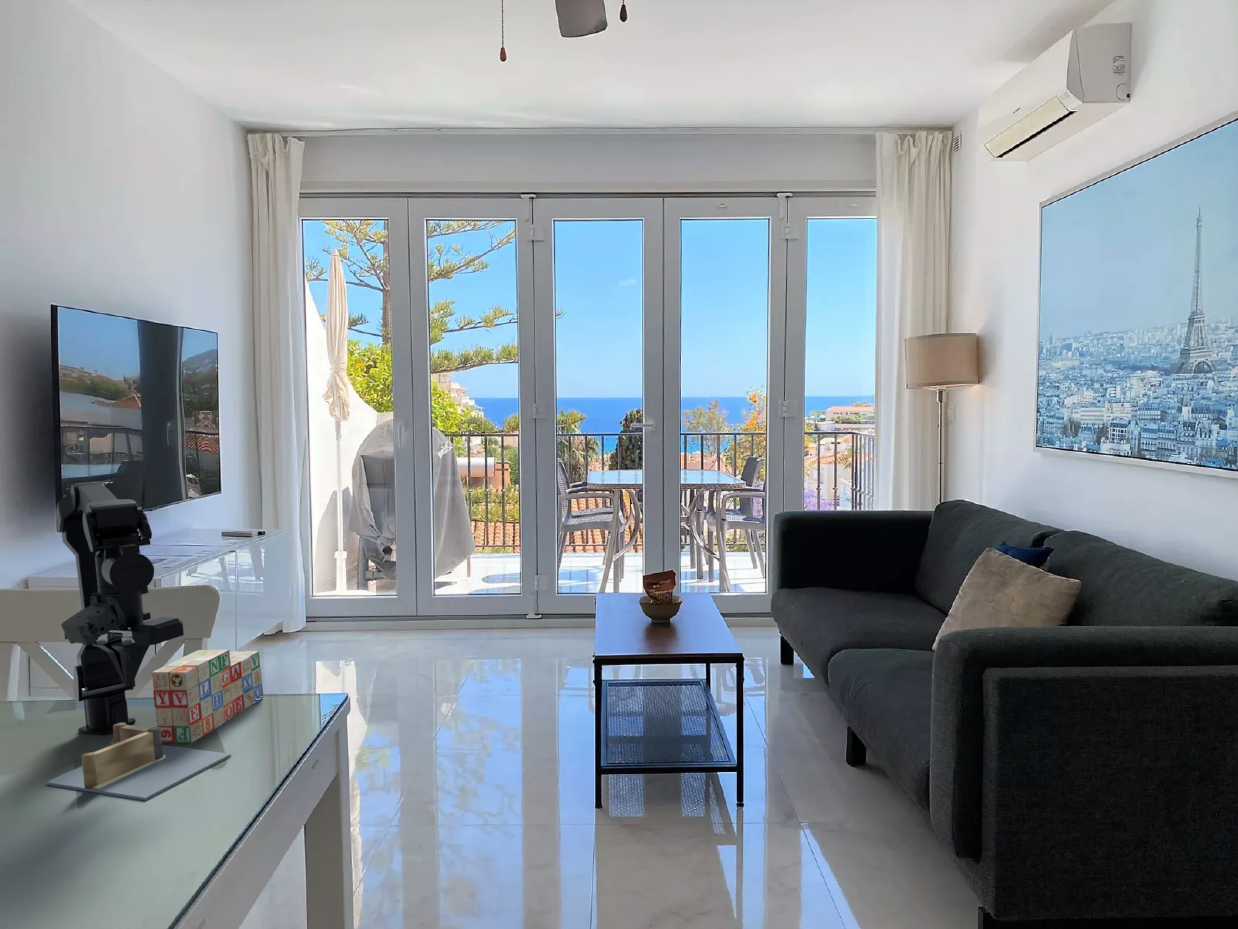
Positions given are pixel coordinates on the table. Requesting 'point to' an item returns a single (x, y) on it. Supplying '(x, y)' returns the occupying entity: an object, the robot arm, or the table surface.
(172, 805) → the table surface
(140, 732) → the fixed fence section
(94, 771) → the folding fence panel
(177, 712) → the stack of blocks
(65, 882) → the table surface
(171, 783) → the board
